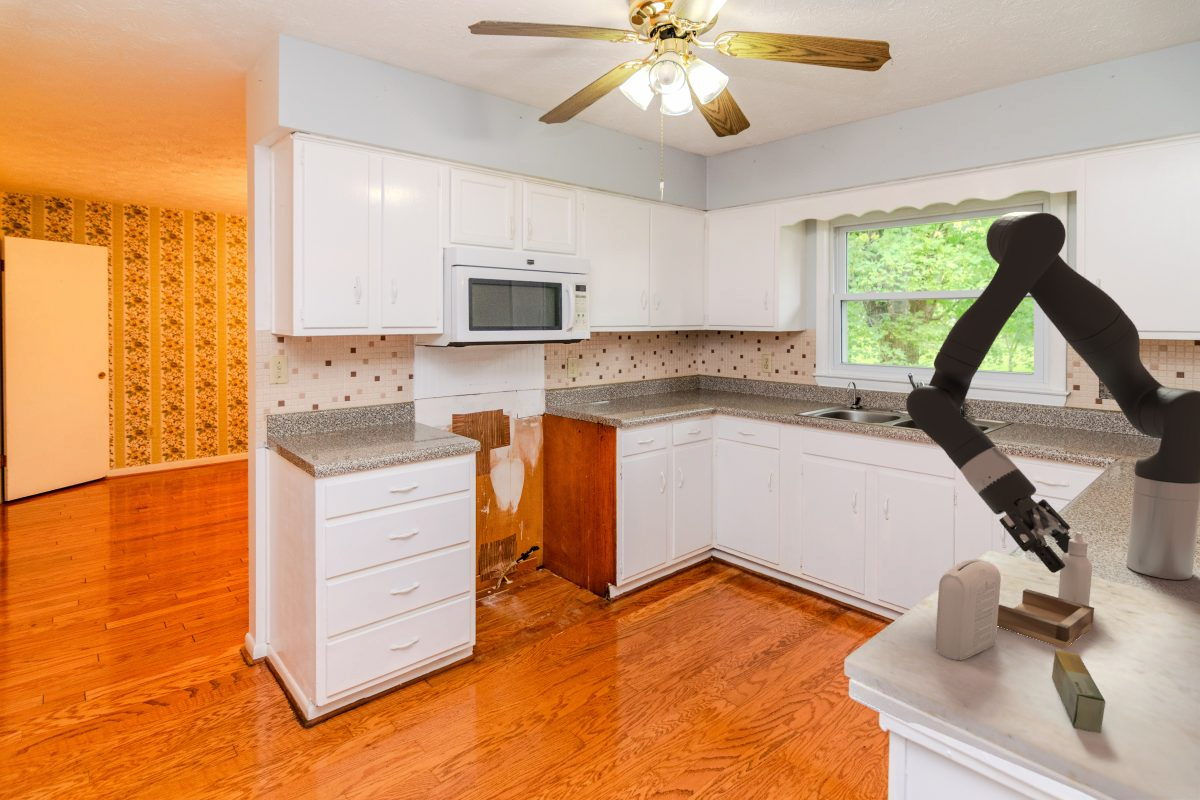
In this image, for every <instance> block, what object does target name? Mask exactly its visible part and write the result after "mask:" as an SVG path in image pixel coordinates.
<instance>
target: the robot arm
mask: <svg viewBox="0 0 1200 800" xmlns="http://www.w3.org/2000/svg"><path fill="white" fill-rule="evenodd" d="M985 240H986V248H987V251H988V252H989V255H990V257H991V258H992V259H993V260H994V261H995V262H996V263H997V264H998V267H997V269H996V271H995V273H994V275H993V277H992V278H991V280H990V281H989V283H988V285H987V286H986V288H984V290H983V292H982V293H980V295H979V296H978V297H977V298H976V300H975V301H974V302H973V303H972V304H971V305H970V306H969V307H968V308H967V309H966V311H964V312H963V314H962V315H960V317H959V318H958V319H957V320H956V322H955V323H954V324H953V326H952V328H951V329H950V331H949V332H948V334H947V335H946V338H945V340H944V342H943V343H942V345H941V347H940V348H939V351H938V352H937V354H936V356H935V359H934V362H933V366H934V369H935V371H934V372H933V375H932V377H931V380H930V382H929V384H928V385H922V386H919V387H916V388H914V389H913V390H911V391H910V392H909V394H908V396H907V398H906V404H905V406H906V411H907V414H908V415H909V417H910V418H911V420H912V421H913V423H914V424H915V425H916V426H917V427H918V428H919V429H920V430H921V431H923V432H924V434H926V435H927V436H928V437H929V438H930V439H931V440H932V442H934V443H936V444H937V445H938V446H939V447H941V449H942V450H943V451H944V452H945V454H946V455H947V456H948V458H949V459H950V460H951V461H952V463H954V465H955V466H956V467H957V468H958V469H959V471H960V472H961V473H962V476H964V478H965V480H966V481H967V482H968V484H969V485H970V486H971V488H973V490H974V491H975V492H976V493H977V495H978V496H979V497H980V498H981V499H982V501H984V503H985V505H987V507H988V508H989V509H990V510H991V511H992V512H993V513H994V514H995V515H1002V514H1003V513H1005V514H1006V515H1004V516H1003V517H1001V518H1000V519H999V522H1000V524H1001V525H1002V527H1004V529H1005V530H1006V531H1007V533H1008V534H1009V535H1010V536H1011V538H1012V539H1013V540H1014V542H1016V544H1017V545H1018V546H1019V548H1020V549H1021V550H1022V551H1023V552H1025V553H1027V552H1028V551H1029V552H1030V553H1032V554H1034V553H1035V555H1036V556H1037V558H1038V559H1039V560H1040V561H1041V562H1042V563H1043V564H1044V565H1045V567H1046V568H1047V569H1048V570H1049V571H1050V573H1053V574H1055V573H1057V572H1058V571H1059V572H1060V570H1061V569H1063V568H1064V567H1065V564H1064V563H1063V561H1062V560H1061V559H1062V558H1061V557H1059V555H1057V553H1056V552H1055V551H1054V549H1052V548H1051V546H1050V545H1048V543H1047V542H1046V538H1045V537H1044V536H1047V537H1048V538H1049V539H1051V540H1052V541H1053V542H1055V544H1056V545H1057V546H1058V548H1059V549H1060V550H1061V551H1062V552H1063V554H1065V553H1069V552H1068V545H1069V540H1070V539H1073V537H1071V536H1070V532H1069V530H1071V527H1070V526H1071V525H1069V524H1068V523H1067V522H1066V521H1065V520H1064V518H1062V516H1061V515H1060V514H1059V513H1058V512H1057V511H1056V510H1055V509H1054V508H1053V507H1052V506H1051V505H1050V504H1049V502H1048V501H1047V500H1046V499H1041V500H1039V501H1037V502H1036V501H1035V500H1034V499H1032V496H1033V495H1035V493H1036V492H1037V488H1036V487H1035V486H1034V484H1033V483H1032V482H1031V481H1030V480H1029V479H1028V478H1027V477H1026V475H1025V474H1024V473H1023V472H1022V470H1021V469H1020V468H1019V467H1018V466H1017V465H1016V464H1015V463H1014V462H1013V460H1011V458H1010V457H1009V456H1008V455H1007V454H1005V452H1003V451H1002V450H1001V449H999V447H998V446H997V445H996V444H995V443H994V442H993V441H992V440H991V439H990V438H989V436H988V435H987V434H986V433H985V432H984V431H983V430H982V429H981V428H980V427H979V426H978V425H976V424H974V423H973V422H970V421H969V420H968V419H966V417H964V416H963V414H962V413H961V412H960V410H961V408H962V407H963V405H964V402H965V400H966V397H967V395H968V393H969V390H970V387H971V383H972V380H973V378H974V376H975V374H976V373H977V371H978V370H979V368H980V367H981V365H982V363H983V361H984V360H985V358H986V356H987V355H988V353H989V351H990V349H991V348H992V346H993V344H994V342H995V341H996V339H997V337H998V336H999V334H1000V332H1001V331H1002V329H1003V328H1004V327H1005V325H1006V323H1007V322H1008V321H1009V319H1010V317H1012V315H1013V314H1014V312H1015V310H1017V308H1018V307H1019V306H1020V305H1021V303H1022V301H1023V300H1024V299H1025V298H1026V296H1027V295H1028V294H1029V295H1030V296H1031V298H1032V299H1033V300H1034V301H1035V302H1036V304H1037V305H1038V306H1039V308H1040V309H1041V310H1042V312H1043V313H1044V314H1045V315H1046V317H1047V318H1048V319H1049V321H1050V322H1051V323H1052V324H1053V326H1054V327H1055V328H1056V329H1057V330H1058V332H1059V333H1060V334H1061V336H1062V337H1063V339H1065V341H1066V342H1067V343H1068V344H1069V345H1070V347H1071V348H1072V349H1073V351H1074V352H1075V353H1077V355H1078V356H1080V358H1081V359H1082V360H1083V361H1084V362H1085V363H1086V365H1087V366H1088V367H1089V368H1090V369H1091V371H1092V372H1093V373H1094V375H1096V377H1097V378H1098V379H1099V381H1100V382H1102V384H1103V385H1104V386H1105V387H1106V389H1107V390H1108V392H1109V393H1110V395H1111V396H1112V397H1113V399H1114V400H1115V402H1116V403H1117V406H1118V407H1119V408H1120V409H1121V411H1122V414H1124V416H1125V418H1126V419H1127V421H1128V422H1129V423H1130V425H1131V426H1132V427H1133V428H1134V429H1135V430H1136V431H1138V432H1139V433H1141V434H1143V435H1145V436H1149V437H1151V438H1156V439H1161V440H1160V444H1159V448H1158V451H1157V452H1156V453H1155V454H1153V455H1151V456H1144V457H1139V458H1138V459H1137V460H1136V462H1135V466H1134V475H1133V476H1134V477H1133V486H1132V487H1133V488H1132V498H1131V509H1130V520H1129V521H1130V522H1129V529H1128V531H1129V532H1128V540H1127V541H1128V542H1127V552H1126V566H1127V568H1128V569H1130V570H1132V571H1134V572H1136V573H1138V574H1143V575H1147V576H1151V577H1155V578H1159V579H1167V580H1177V581H1178V580H1179V581H1180V580H1181V581H1182V580H1190V579H1192V577H1193V573H1194V571H1193V570H1194V562H1195V553H1196V545H1197V536H1198V535H1197V534H1198V526H1199V525H1198V524H1199V515H1200V390H1194V389H1188V388H1177V387H1176V388H1175V387H1166V386H1164V385H1163V384H1161V383H1160V382H1159V381H1158V380H1157V379H1155V378H1154V376H1152V374H1151V373H1150V372H1149V371H1148V370H1147V368H1146V367H1145V366H1144V364H1143V363H1142V361H1141V355H1140V354H1141V353H1140V351H1141V349H1140V348H1141V347H1140V345H1141V342H1140V334H1139V332H1138V329H1137V326H1136V325H1135V323H1134V322H1133V321H1132V320H1131V319H1132V318H1131V319H1130V317H1129V316H1128V315H1127V314H1126V312H1125V311H1124V310H1123V308H1121V306H1120V304H1118V302H1116V301H1115V300H1114V299H1113V298H1112V296H1110V295H1109V294H1107V292H1105V291H1104V290H1102V289H1101V288H1100V287H1099V286H1097V285H1096V284H1095V283H1093V282H1092V281H1090V280H1089V279H1087V278H1086V277H1084V276H1082V274H1080V273H1078V272H1077V271H1075V269H1073V268H1072V267H1071V266H1069V265H1068V264H1067V263H1066V261H1065V260H1064V259H1063V258H1062V257H1061V256H1060V253H1061V251H1062V249H1063V247H1064V244H1065V242H1066V227H1065V225H1064V223H1063V222H1062V220H1061V219H1060V218H1059V217H1057V216H1056V215H1055V214H1052V213H1048V212H1044V211H1016V212H1014V211H1013V212H1010V213H1006V214H1004V215H1003V214H1002V216H1000V217H998V218H997V219H995V220H994V221H992V224H991V225H990V227H989V228H988V231H987V232H986V239H985Z"/></svg>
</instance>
